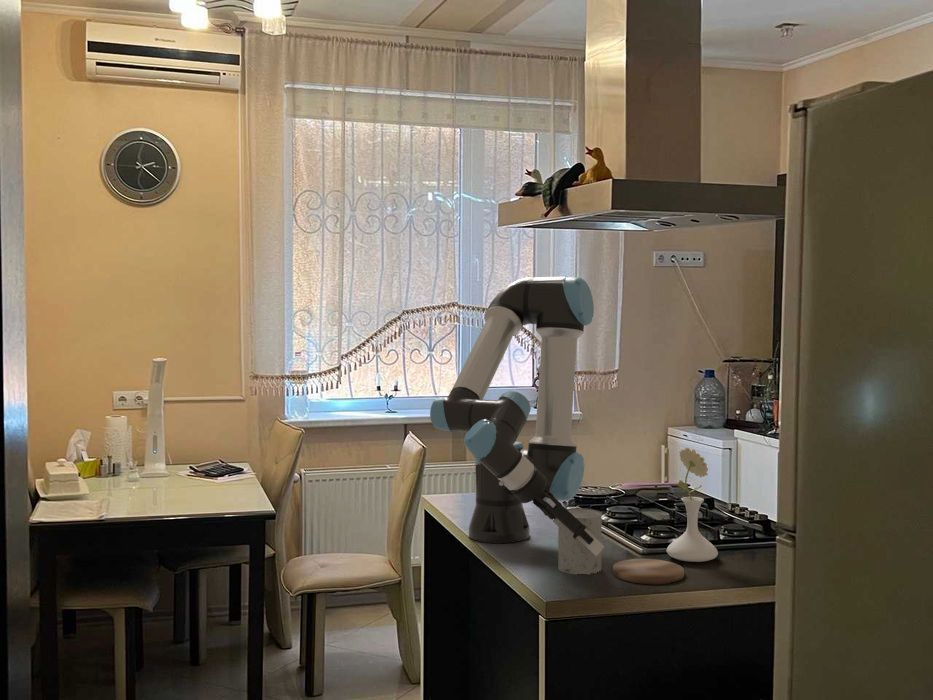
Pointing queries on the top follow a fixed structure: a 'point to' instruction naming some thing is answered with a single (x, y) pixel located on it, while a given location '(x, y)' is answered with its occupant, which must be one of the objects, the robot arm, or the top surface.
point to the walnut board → (648, 571)
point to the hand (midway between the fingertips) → (587, 543)
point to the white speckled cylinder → (579, 544)
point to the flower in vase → (692, 517)
